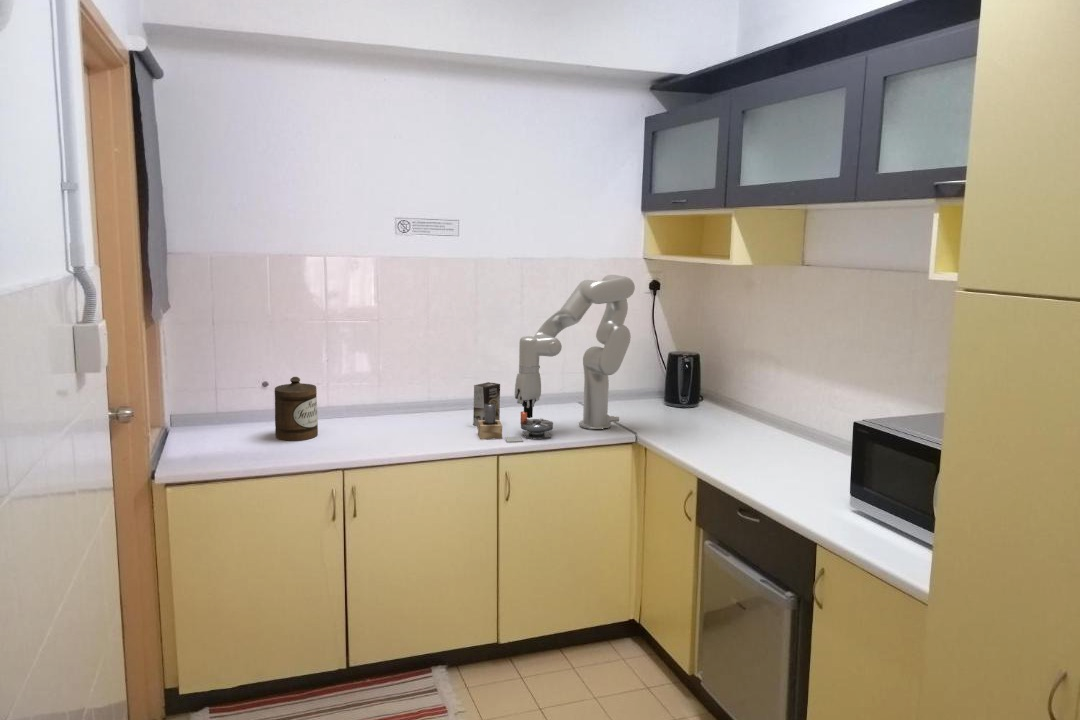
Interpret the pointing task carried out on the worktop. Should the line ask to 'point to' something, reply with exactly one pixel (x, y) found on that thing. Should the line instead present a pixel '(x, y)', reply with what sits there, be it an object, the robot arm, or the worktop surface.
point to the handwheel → (535, 424)
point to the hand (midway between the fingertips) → (528, 417)
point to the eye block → (489, 430)
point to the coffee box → (485, 400)
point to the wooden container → (296, 411)
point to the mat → (514, 439)
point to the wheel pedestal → (536, 434)
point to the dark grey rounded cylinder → (490, 414)
